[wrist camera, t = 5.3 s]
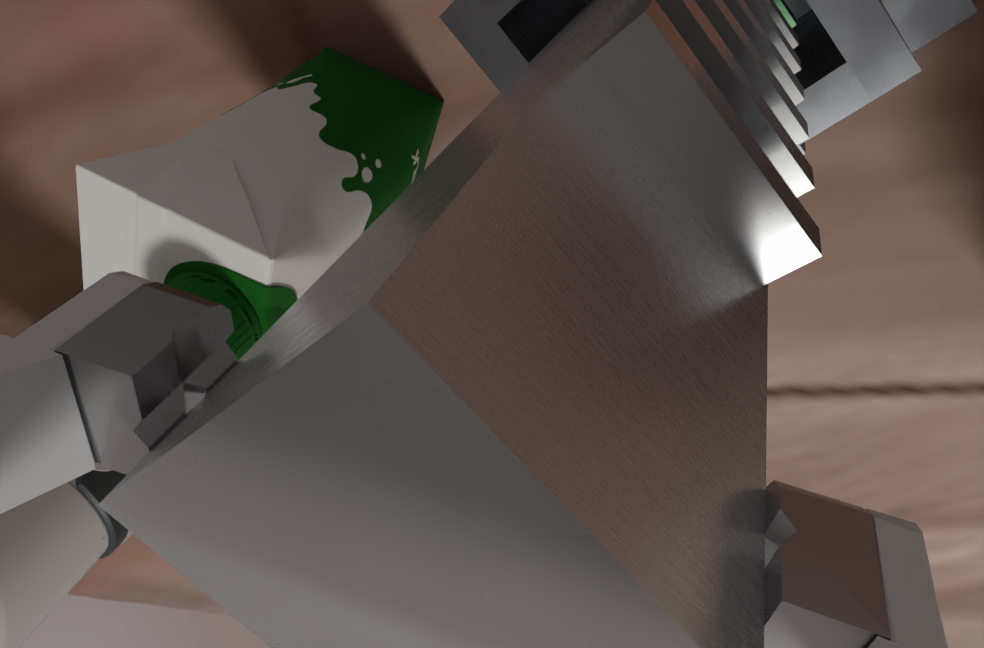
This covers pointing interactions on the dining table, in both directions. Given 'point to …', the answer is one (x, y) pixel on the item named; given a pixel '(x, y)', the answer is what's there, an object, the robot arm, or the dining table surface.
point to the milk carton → (259, 191)
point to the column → (524, 369)
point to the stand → (822, 49)
